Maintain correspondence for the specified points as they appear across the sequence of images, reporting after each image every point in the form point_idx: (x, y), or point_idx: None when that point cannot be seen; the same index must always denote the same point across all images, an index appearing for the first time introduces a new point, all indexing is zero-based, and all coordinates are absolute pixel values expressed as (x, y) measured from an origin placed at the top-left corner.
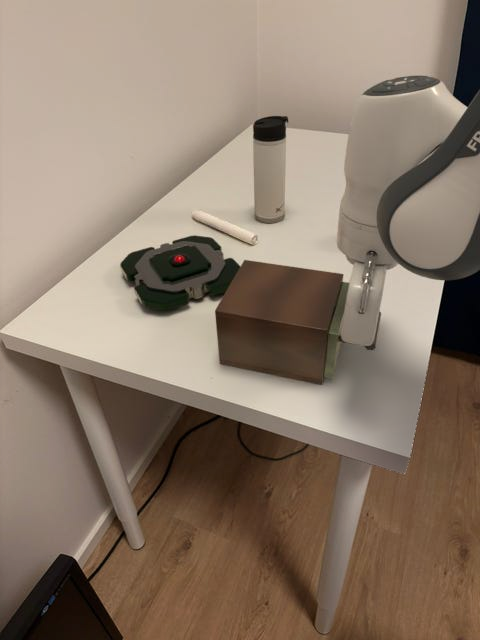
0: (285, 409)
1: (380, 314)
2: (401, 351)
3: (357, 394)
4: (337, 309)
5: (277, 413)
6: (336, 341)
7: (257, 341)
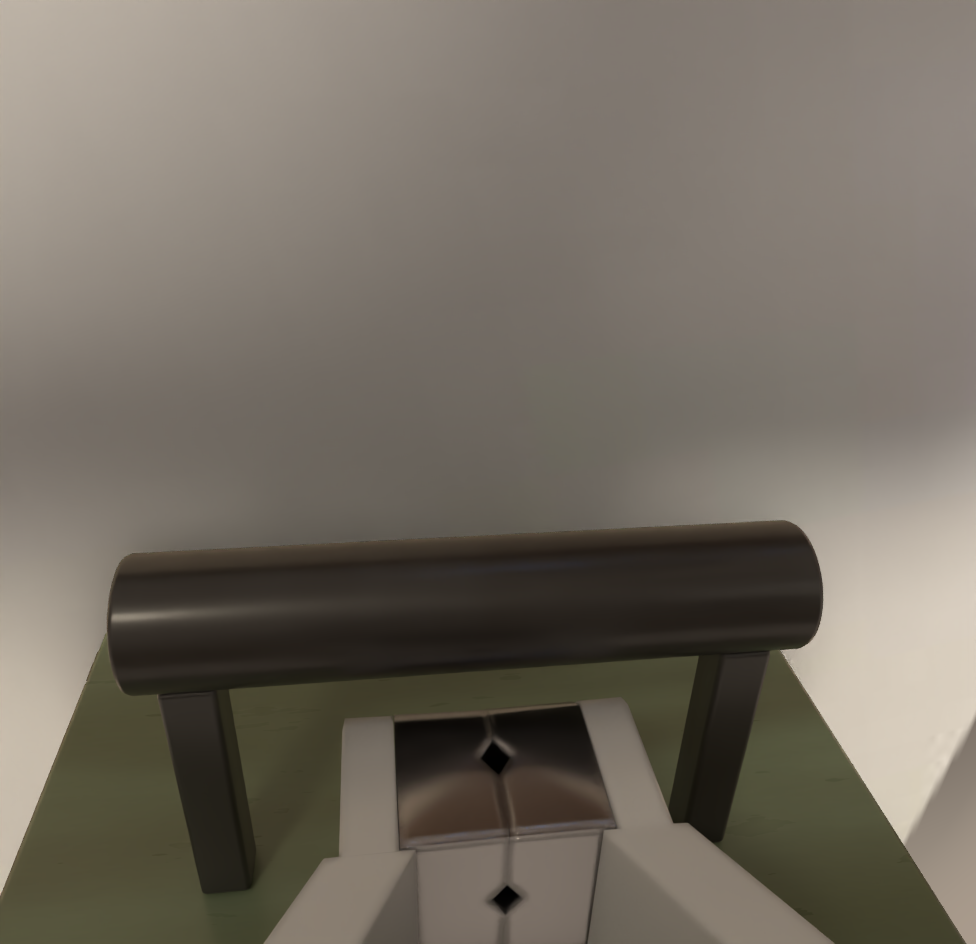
0: (934, 715)
1: (163, 593)
2: (192, 84)
3: (809, 396)
4: None
5: (959, 737)
6: (961, 937)
7: None
